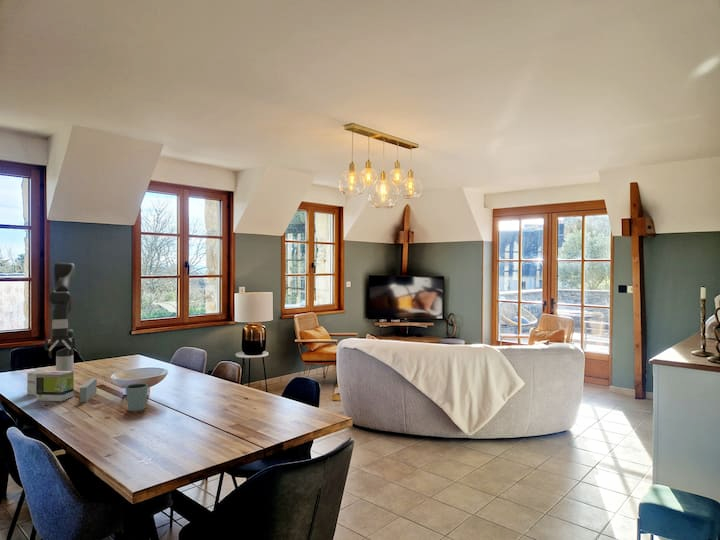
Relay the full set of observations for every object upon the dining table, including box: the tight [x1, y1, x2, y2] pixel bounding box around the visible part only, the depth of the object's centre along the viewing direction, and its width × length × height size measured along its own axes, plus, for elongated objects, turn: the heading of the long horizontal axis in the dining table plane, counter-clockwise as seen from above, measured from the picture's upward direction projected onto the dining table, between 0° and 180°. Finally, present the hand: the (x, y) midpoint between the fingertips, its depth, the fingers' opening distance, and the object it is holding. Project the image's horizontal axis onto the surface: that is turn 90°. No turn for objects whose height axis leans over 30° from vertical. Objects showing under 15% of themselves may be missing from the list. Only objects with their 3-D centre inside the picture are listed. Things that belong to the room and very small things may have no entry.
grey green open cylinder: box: [125, 382, 149, 412], centre depth 251 cm, size 10×10×12 cm
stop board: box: [79, 377, 98, 403], centre depth 273 cm, size 22×3×8 cm, turn 15°
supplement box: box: [26, 369, 46, 397], centre depth 278 cm, size 7×7×13 cm
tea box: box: [35, 370, 75, 402], centre depth 268 cm, size 15×10×15 cm, turn 84°
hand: (59, 357), depth 270 cm, fingers open, 8 cm apart
